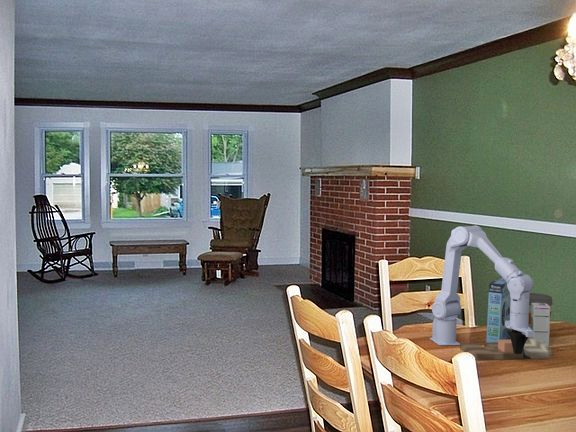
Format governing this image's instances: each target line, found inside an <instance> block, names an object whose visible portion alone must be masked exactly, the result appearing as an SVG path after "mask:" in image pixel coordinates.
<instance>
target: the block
mask: <svg viewBox="0 0 576 432" xmlns="http://www.w3.org/2000/svg"><path fill="white" fill-rule="evenodd" d="M498 349H500V350H501V351H503V352H514V351H513V347H512V342H511V339H510V338H509V339H507V340H498Z"/></svg>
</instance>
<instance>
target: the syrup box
mask: <svg viewBox="0 0 576 432" xmlns="http://www.w3.org/2000/svg"><path fill="white" fill-rule="evenodd" d="M550 311H551V310H550V306H549V305H548V304H546V303H531V330H532V331H533V337H530V338H532V339H534V340H536V341H538V342H540V343H542V344H544V345H546V346H548V347H550V330H551V329H550V326H551V325H550V323H551V317H550Z"/></svg>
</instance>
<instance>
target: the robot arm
mask: <svg viewBox="0 0 576 432" xmlns="http://www.w3.org/2000/svg"><path fill="white" fill-rule="evenodd" d="M468 247H473V248H478V249H479V250H480V251H481V252H483V254H484V255H485V256H486V257H487V258H488V259H489V260H490V261H491V262H492V263H493V264H494V270H495V271H496V272H497V274H498V275H500V276H501V277H502V278H503V279H504V280H505V281H506V282H507V283H508V284H507V287H508V290H509V291H510V297H511V301H510V321H505V326H506V327H507V328H509V329H511V331H508V335H509V340H510V339H511V342H512V347H513V351H514V353H515V354H522V351H523V348H524V345H525V343H526V342H527V339H528V338H529V337H533V331H532V330H531V329H530V327H529V326H528V320H529V296H530V293H531V291H532V290H533V288H534V280H533V279H532V278H531V276H530V275H529V274H525V273H524V272H523V271H522V270H520V269H519V268H518V267H517V266H516V265H515V263H514V260H513V259H512V258H509V257H503V256H502V254H501V253H500V252H499V251H498V249H497V248H496V247H495V246H494V244H493V243H492V242H491V240H490V239H489V238H488V236H487V233H486V232H485V231H484V230H483V229H482V228H481V226H478V225H471V226H470V225H468V226H457V227H455V228H453V229H452V230H451V232H450V237H449V238H448V240H447V242H446V246H445V256H444V264H443V272H442V281H441V287H440V288H441V291H440V292H439V293H438V294H437V295H436V296H435V298H434V302H433V303H432V306H431V312H432V315H433V316H434V319H433V320H432V332H431V333H432V336H431V337H429V339H430V340H431V341H432V342H433V343H435V344H436V345H438V346H460V343H461V342H458V341H457V321H458V320H457V319H458V316H459V315H460V314H461V312H462V305H461V297H460V295H459V294H458V287H459V277H460V271H461V262H462V261H461V260H462V254H463V251H464V250H465V249H466V248H468ZM500 276H499V277H500Z"/></svg>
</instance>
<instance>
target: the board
mask: <svg viewBox="0 0 576 432" xmlns="http://www.w3.org/2000/svg"><path fill="white" fill-rule="evenodd" d="M459 343H460V345H459V349H460V350H461V351H462V352H463V353H465V352H469V353H471V354H473V355H474V356H475V358H476V359H475V360H476V361H504V360H505V361H506V360H510V361H511V360H541V359H542V360H543V359H552V347H550V346H546V345H544V344H542V343H540V342H538V341H536V340H534V339H532V338H530V337H529V338H528V339H527V341H526V343H525V345H524V348H523V351H522V354H515V353H514V352H503V351H501V350H500V349H498V342H487V343H486V342H484V344H483V346H482V345H480V343H477V342H459Z"/></svg>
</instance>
